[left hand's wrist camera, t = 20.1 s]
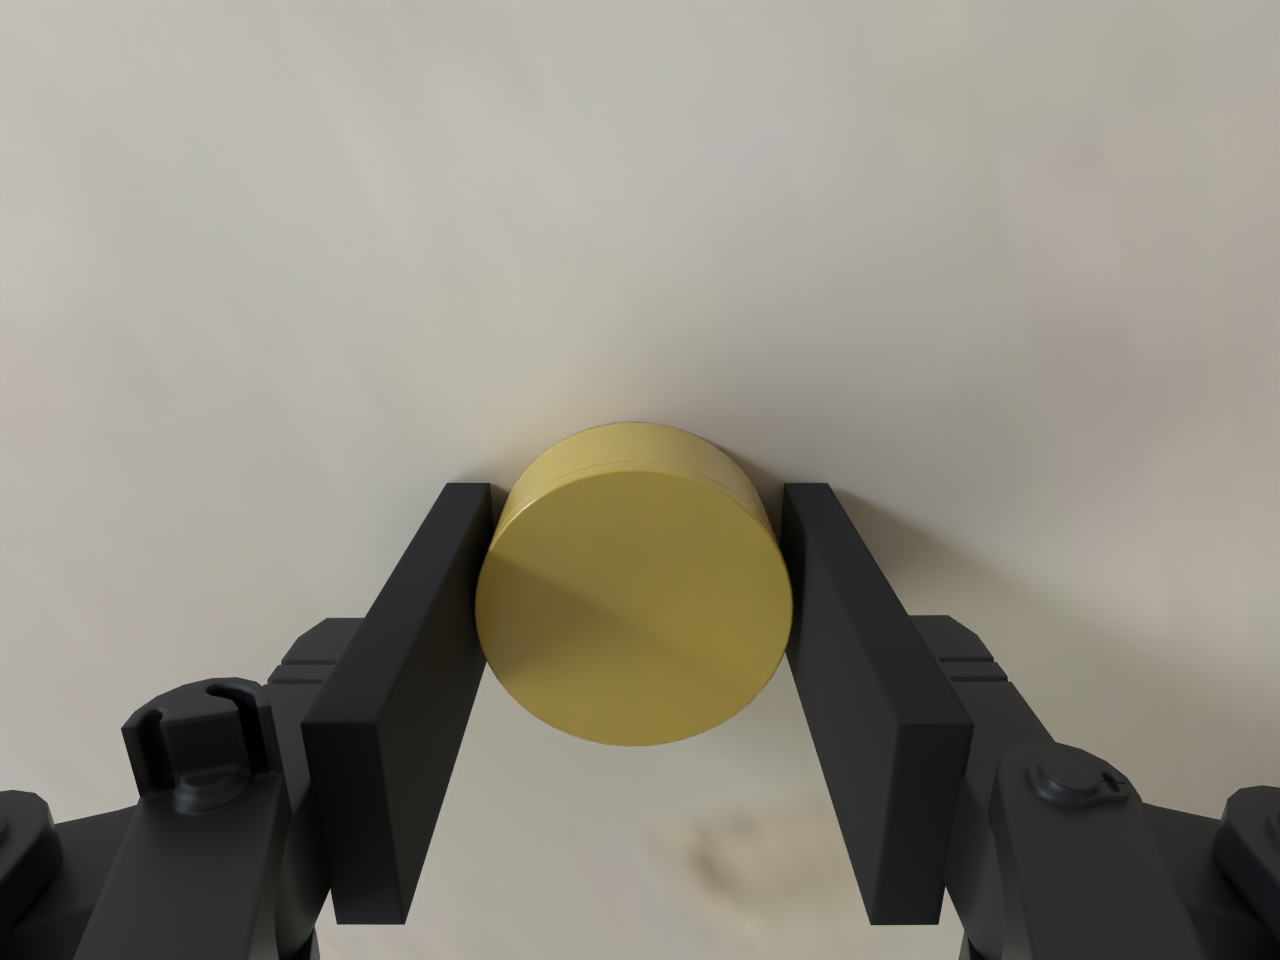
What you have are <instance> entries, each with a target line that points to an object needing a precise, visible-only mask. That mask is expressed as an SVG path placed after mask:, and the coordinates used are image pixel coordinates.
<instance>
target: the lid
mask: <svg viewBox="0 0 1280 960" xmlns="http://www.w3.org/2000/svg"><path fill="white" fill-rule="evenodd" d="M793 606H794V604H793V593H792V585H791V581H790V577H789V573H788V569H787V566H786V563H785V561H784V558H783V555H782V553H781V550H780V547H779V545H778V542H777V540H776V537H775V534H774V532H773V529H772V526H771V524H770V521H769V518H768V516H767V513H766V510H765V508H764V505H763V503H762V501H761V498H760V496H759V494H758V492H757V490H756V489H755V487H754V485H753V484H752V482H751V480H750V479H749V478H748V477H747V475H746V474H745V473H744V472H743V470H742V469H741V468H740V467H739V466H738V465H737V464H736V463H735V462H734V461H733V460H732V459H731V458H730V457H729V456H728V455H727V454H725V453H724V452H722V451H721V450H720V449H718V448H717V447H715V446H714V445H713V444H711V443H709V442H707V441H705V440H703V439H702V438H700V437H698V436H696V435H693V434H691V433H688V432H685V431H683V430H680V429H677V428H673V427H668V426H664V425H660V424H651V423H642V422H637V423H617V424H610V425H603V426H599V427H596V428H592V429H588V430H585V431H582V432H580V433H578V434H575V435H573V436H570V437H568V438H566V439H564V440H563V441H561V442H559V443H557V444H556V445H554V446H552V447H551V448H550V449H548V450H547V451H546V452H544V453H543V454H542V455H541V456H539V457H538V458H537V459H536V460H535V461H534V462H533V463H532V464H531V465H530V466H529V467H528V468H527V469H526V470H525V471H524V473H523V474H522V475H521V477H520V478H519V479H518V481H517V482H516V483H515V485H514V487H513V488H512V490H511V492H510V494H509V496H508V498H507V500H506V502H505V505H504V508H503V510H502V513H501V516H500V518H499V521H498V524H497V527H496V529H495V532H494V535H493V537H492V540H491V543H490V545H489V548H488V551H487V554H486V556H485V559H484V562H483V564H482V567H481V570H480V573H479V576H478V581H477V586H476V591H475V608H474V611H475V621H476V629H477V633H478V637H479V641H480V645H481V648H482V650H483V653H484V655H485V657H486V660H487V662H488V664H489V666H490V668H491V669H492V671H493V673H494V674H495V676H496V678H497V679H498V681H499V682H500V683H501V684H502V686H503V687H504V688H505V690H506V691H507V692H508V693H509V694H510V695H511V696H512V697H513V698H514V699H515V700H516V701H517V702H518V703H519V704H520V705H521V706H522V707H523V708H525V709H526V710H527V711H529V712H530V713H531V714H533V715H534V716H535V717H536V718H538V719H540V720H542V721H543V722H545V723H547V724H548V725H550V726H552V727H554V728H556V729H558V730H560V731H563V732H565V733H567V734H569V735H572V736H575V737H579V738H582V739H585V740H588V741H593V742H598V743H603V744H608V745H619V746H649V745H658V744H666V743H670V742H674V741H678V740H683V739H686V738H689V737H692V736H695V735H697V734H700V733H703V732H705V731H707V730H709V729H711V728H713V727H715V726H717V725H719V724H721V723H723V722H724V721H726V720H727V719H729V718H731V717H732V716H734V715H735V714H737V713H738V712H739V711H740V710H741V709H743V708H744V707H745V706H746V705H748V704H749V703H750V702H751V701H752V700H753V699H754V698H755V697H756V696H757V695H758V694H759V692H760V691H761V690H762V689H763V688H764V687H765V685H766V684H767V683H768V681H769V680H770V678H771V677H772V676H773V674H774V672H775V671H776V669H777V667H778V665H779V663H780V661H781V660H782V657H783V655H784V652H785V649H786V647H787V644H788V641H789V637H790V632H791V628H792V622H793Z"/></svg>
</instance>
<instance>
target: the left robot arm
mask: <svg viewBox="0 0 1280 960" xmlns="http://www.w3.org/2000/svg"><path fill="white" fill-rule="evenodd" d="M493 535H494V531H493V517H492V503H491V489H490V483H447V484H446V485H445V487H444V489H443V490H442V492H441V494H440V495H439V497H438V499H437V500H436V502H435V503H434V505H433V507H432V508H431V510H430V512H429V513H428V515H427V517H426V518H425V520H424V521H423V523H422V525H421V526H420V528H419V530H418V531H417V533H416V535H415V536H414V538H413V539H412V541H411V543H410V544H409V546H408V548H407V549H406V551H405V553H404V554H403V556H402V558H401V559H400V561H399V562H398V564H397V566H396V567H395V569H394V571H393V572H392V574H391V576H390V577H389V579H388V580H387V582H386V584H385V585H384V587H383V589H382V590H381V592H380V594H379V595H378V597H377V598H376V600H375V602H374V603H373V605H372V607H371V608H370V610H369V612H368V613H367V615H366V617H365V618H326V619H325V620H323V621H322V622H320V623H319V624H317V625H316V626H314V627H313V628H312V629H310V630H309V631H307V632H306V633H304V634H303V635H301V636H300V637H298V639H297V640H296V641H295V643H294V644H293V645H292V647H291V648H290V650H289V651H288V652H287V654H286V655H285V656H284V658H283V659H282V661H281V662H282V663H281V665H278V666H277V667H276V669H275V670H274V672H273V673H272V674H271V676H270V677H269V678H268V683H267V685H263V687H262V686H261V685H260V684H259V683H257V682H255V681H250V680H246V679H242V678H237V677H233V678H211V679H207V680H202V681H198V682H194V683H190V684H185V685H182V686H180V687H178V688H175V689H173V690H171V691H168V692H166V693H164V694H161V695H159V696H157V697H155V698H154V699H152V700H151V701H149V702H148V703H146V704H145V705H144V706H142V707H141V708H139V709H138V710H136V711H135V712H134V713H133V714H132V715H131V717H130V718H129V719H128V720H127V722H126V723H125V724H124V725H123V727H122V728H121V731H122V734H123V738H124V742H125V745H126V749H127V752H128V756H129V759H130V763H131V766H132V770H133V773H134V777H135V781H136V784H137V788H138V791H139V795H140V799H139V801H138V804H137V805H135V806H131V807H128V808H124V809H121V810H117V811H113V812H108V813H104V814H99V815H95V816H90V817H86V818H81V819H77V820H72V821H67V822H63V823H58V824H54V821H53V818H52V815H51V812H50V809H49V806H48V803H47V802H45V801H44V800H43V799H42V798H40V797H39V796H38V795H37V794H35V793H31V792H24V791H17V790H9V791H1V792H0V960H320V954H319V947H318V940H317V935H316V930H315V923H316V920H317V918H318V916H319V913H320V911H321V909H322V906H323V904H324V902H325V899H326V897H327V895H328V892H329V890H330V889H331V894H332V900H333V905H334V911H335V916H336V921H337V924H405V922H406V919H407V916H408V912H409V909H410V906H411V903H412V900H413V896H414V893H415V890H416V887H417V883H418V880H419V877H420V874H421V871H422V867H423V864H424V861H425V858H426V854H427V851H428V848H429V845H430V842H431V838H432V835H433V832H434V829H435V826H436V822H437V819H438V816H439V813H440V809H441V806H442V803H443V800H444V797H445V793H446V790H447V787H448V784H449V781H450V777H451V774H452V771H453V768H454V764H455V761H456V758H457V755H458V752H459V748H460V745H461V742H462V739H463V736H464V732H465V729H466V726H467V723H468V719H469V716H470V713H471V710H472V707H473V703H474V700H475V697H476V694H477V691H478V687H479V684H480V681H481V678H482V674H483V671H484V668H485V665H486V662H487V660H486V657H485V655H484V653H483V650H482V648H481V645H480V641H479V637H478V633H477V629H476V621H475V611H474V608H475V591H476V586H477V581H478V576H479V573H480V570H481V567H482V564H483V562H484V559H485V556H486V554H487V551H488V548H489V545H490V543H491V540H492V537H493ZM780 550H781V553H782V555H783V558H784V561H785V563H786V566H787V569H788V573H789V577H790V581H791V585H792V593H793V604H794V606H793V622H792V628H791V632H790V637H789V641H788V644H787V647H786V649H785V652H786V655H787V659H788V662H789V665H790V668H791V671H792V675H793V678H794V681H795V684H796V687H797V691H798V694H799V697H800V700H801V703H802V707H803V710H804V713H805V716H806V719H807V723H808V726H809V729H810V732H811V735H812V739H813V742H814V745H815V748H816V751H817V755H818V758H819V761H820V764H821V767H822V771H823V774H824V777H825V780H826V784H827V787H828V790H829V793H830V796H831V800H832V803H833V806H834V809H835V812H836V816H837V819H838V822H839V825H840V828H841V832H842V835H843V838H844V841H845V844H846V848H847V851H848V854H849V857H850V860H851V864H852V867H853V870H854V873H855V876H856V880H857V883H858V886H859V889H860V892H861V896H862V899H863V902H864V905H865V908H866V912H867V915H868V918H869V921H870V924H871V925H938V924H939V918H940V913H941V907H942V902H943V896H944V891H945V886H946V888H947V890H948V893H949V895H950V897H951V900H952V902H953V904H954V907H955V909H956V911H957V913H958V916H959V918H960V920H961V923H962V925H963V927H964V935H963V940H962V945H961V950H960V955H959V960H1280V788H1277V787H1270V786H1256V787H1249V788H1242V789H1239V790H1238V791H1237V792H1236V793H1234V794H1233V795H1232V796H1231V797H1229V798H1228V800H1227V803H1226V806H1225V809H1224V812H1223V815H1222V818H1221V820H1217V819H1213V818H1208V817H1204V816H1199V815H1194V814H1190V813H1185V812H1180V811H1176V810H1171V809H1167V808H1162V807H1157V806H1154V805H1150V804H1147V803H1143V802H1142V800H1141V797H1140V795H1139V794H1138V793H1137V791H1136V790H1135V788H1134V787H1133V785H1132V784H1131V782H1130V781H1129V780H1128V778H1127V777H1126V776H1124V775H1123V774H1122V773H1120V772H1119V771H1118V770H1117V769H1115V768H1114V767H1113V766H1112V765H1110V764H1109V763H1108V762H1106V761H1104V760H1102V759H1100V758H1098V757H1096V756H1094V755H1092V754H1090V753H1088V752H1086V751H1084V750H1082V749H1079V748H1075V747H1072V746H1068V745H1064V744H1060V743H1057V742H1055V741H1054V740H1053V738H1052V737H1051V735H1050V734H1049V733H1048V731H1047V730H1046V729H1045V727H1044V726H1043V725H1042V723H1041V722H1040V720H1039V719H1038V718H1037V716H1036V715H1035V714H1034V712H1033V711H1032V709H1031V708H1030V707H1029V705H1028V704H1027V703H1026V701H1025V700H1024V699H1023V697H1022V696H1021V694H1020V693H1019V692H1018V690H1017V689H1016V688H1015V686H1014V685H1013V684H1012V682H1008V679H1007V678H1008V677H1007V675H1006V674H1005V673H1004V671H1003V670H1002V668H1001V667H1000V666H999V664H998V663H997V662H994V658H993V656H992V655H991V653H990V652H989V651H988V649H987V648H986V647H985V645H984V644H983V642H982V641H981V640H980V638H979V637H978V636H977V635H976V634H975V633H973V632H972V631H970V630H969V629H967V628H966V627H965V626H963V625H962V624H960V623H959V622H957V621H956V620H954V619H953V618H951V617H950V616H948V615H910V616H908V614H907V612H906V611H905V609H904V607H903V606H902V604H901V602H900V601H899V599H898V598H897V596H896V594H895V593H894V591H893V589H892V588H891V586H890V584H889V583H888V581H887V580H886V578H885V576H884V575H883V573H882V571H881V570H880V568H879V566H878V565H877V563H876V561H875V560H874V558H873V557H872V555H871V553H870V552H869V550H868V548H867V547H866V545H865V543H864V542H863V540H862V539H861V537H860V535H859V534H858V532H857V530H856V529H855V527H854V525H853V524H852V522H851V521H850V519H849V517H848V516H847V514H846V512H845V511H844V509H843V507H842V506H841V504H840V503H839V501H838V499H837V498H836V496H835V494H834V493H833V491H832V489H831V488H830V486H829V485H828V483H784V498H783V512H782V527H781V541H780Z"/></svg>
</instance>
